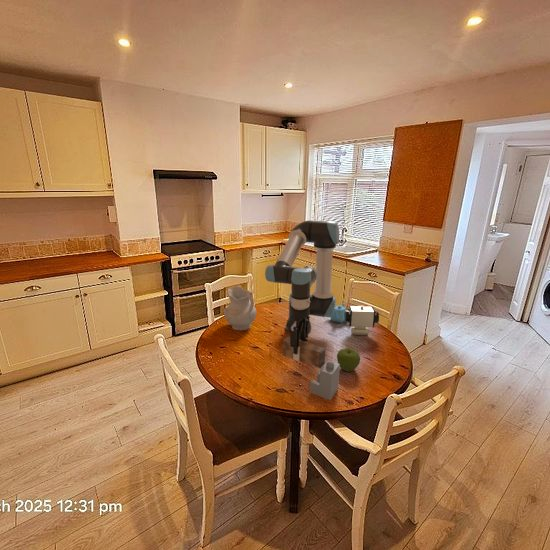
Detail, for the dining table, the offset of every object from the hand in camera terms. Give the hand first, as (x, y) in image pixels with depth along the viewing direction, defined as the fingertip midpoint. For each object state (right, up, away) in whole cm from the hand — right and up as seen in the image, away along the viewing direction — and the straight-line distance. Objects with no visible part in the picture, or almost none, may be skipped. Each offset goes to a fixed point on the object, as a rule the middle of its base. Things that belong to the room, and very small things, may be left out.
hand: (299, 357), depth 128 cm
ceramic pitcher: (-30, +3, +54) cm, 62 cm away
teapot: (+30, +6, +62) cm, 70 cm away
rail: (+2, -1, -1) cm, 2 cm away
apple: (+24, -9, +12) cm, 28 cm away
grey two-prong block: (+10, -13, -3) cm, 17 cm away
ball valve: (+39, +1, +45) cm, 59 cm away
